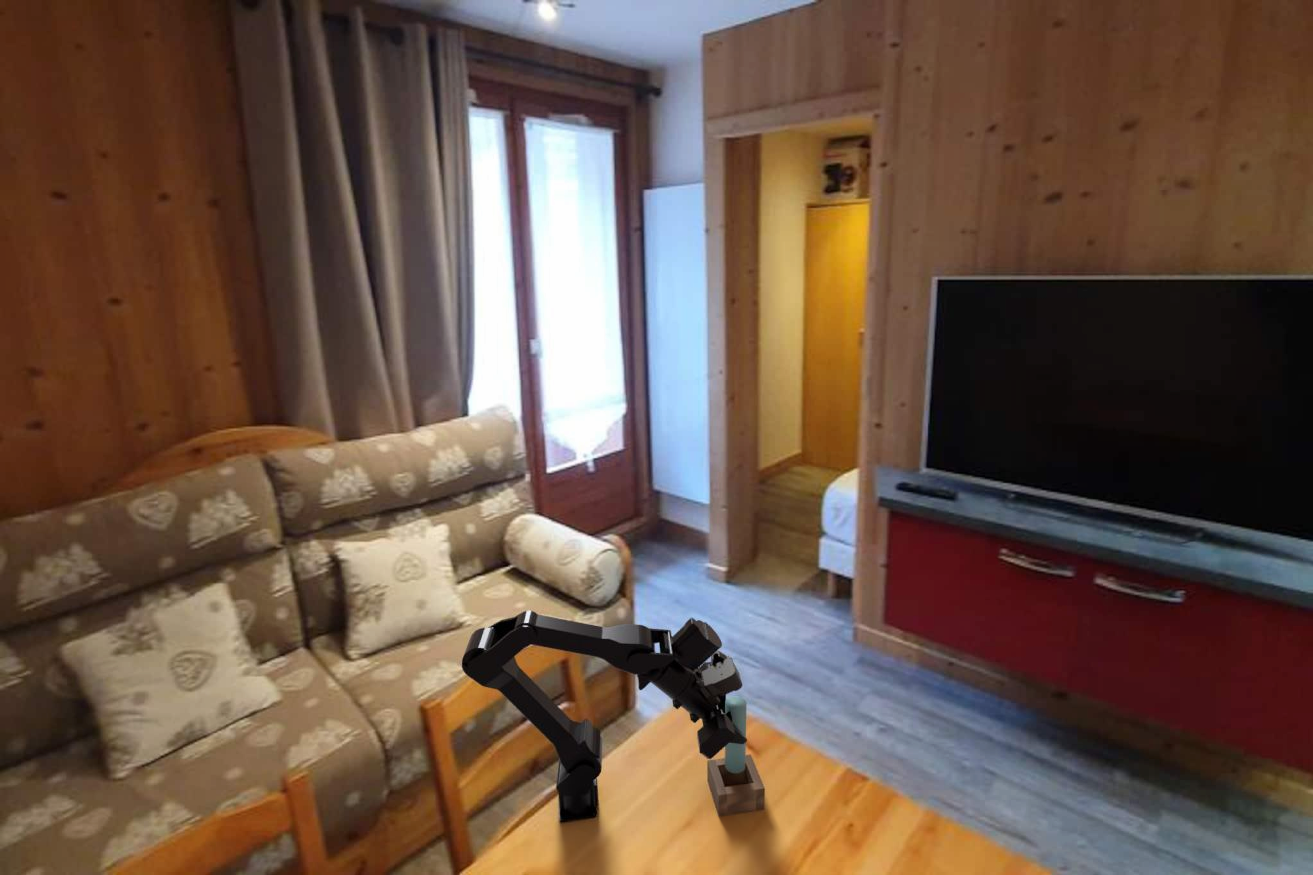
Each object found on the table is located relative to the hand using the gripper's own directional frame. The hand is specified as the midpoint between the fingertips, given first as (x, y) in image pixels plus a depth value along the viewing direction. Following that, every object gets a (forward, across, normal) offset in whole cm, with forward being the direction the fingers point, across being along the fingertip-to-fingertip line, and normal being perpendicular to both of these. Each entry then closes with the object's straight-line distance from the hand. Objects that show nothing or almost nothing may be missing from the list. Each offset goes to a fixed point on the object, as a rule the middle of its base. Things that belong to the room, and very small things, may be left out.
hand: (743, 733), depth 117 cm
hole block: (+8, 0, +10) cm, 13 cm away
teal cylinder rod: (+4, 0, +6) cm, 7 cm away
